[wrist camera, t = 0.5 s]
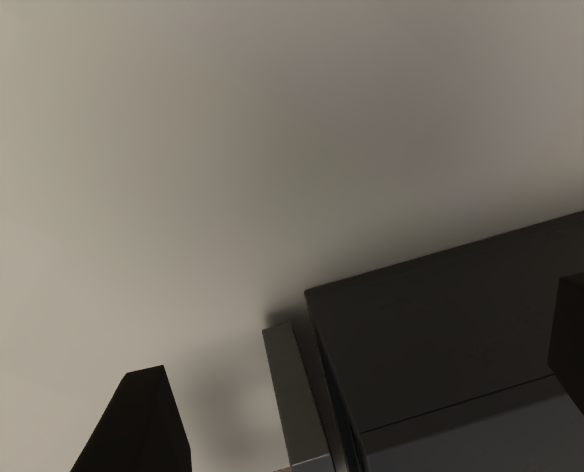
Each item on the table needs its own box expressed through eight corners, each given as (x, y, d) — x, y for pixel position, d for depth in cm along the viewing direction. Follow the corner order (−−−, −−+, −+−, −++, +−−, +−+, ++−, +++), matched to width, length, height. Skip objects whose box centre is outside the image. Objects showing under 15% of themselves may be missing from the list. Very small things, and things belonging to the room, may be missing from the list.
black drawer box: (348, 478, 26) (409, 664, 19) (303, 290, 20) (365, 456, 13) (608, 396, 27) (759, 544, 20) (635, 195, 21) (861, 302, 14)
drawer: (219, 527, 24) (229, 686, 19) (142, 363, 19) (123, 516, 14) (566, 418, 25) (671, 538, 20) (581, 236, 20) (727, 330, 15)
